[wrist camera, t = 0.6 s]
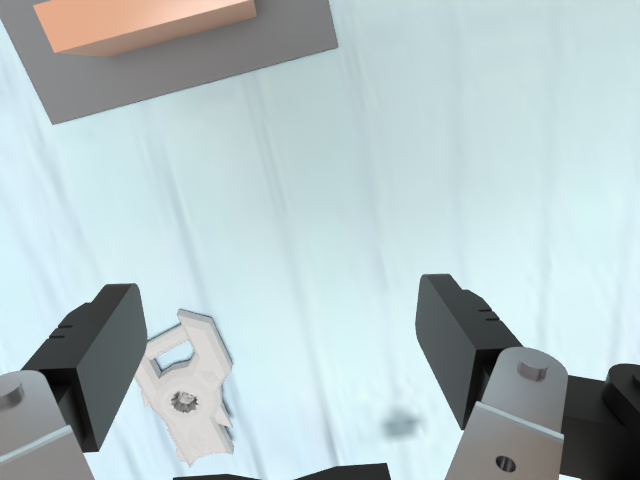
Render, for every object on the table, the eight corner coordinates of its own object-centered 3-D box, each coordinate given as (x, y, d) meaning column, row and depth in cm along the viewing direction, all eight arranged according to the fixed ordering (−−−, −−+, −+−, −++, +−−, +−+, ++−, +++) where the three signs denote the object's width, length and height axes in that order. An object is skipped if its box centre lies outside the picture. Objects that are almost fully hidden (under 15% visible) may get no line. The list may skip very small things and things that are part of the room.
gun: (264, 452, 46) (177, 479, 46) (265, 429, 49) (184, 454, 50) (199, 312, 40) (99, 344, 40) (205, 295, 43) (113, 325, 43)
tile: (247, -20, 32) (239, -51, 24) (257, 16, 33) (253, -2, 25) (93, 22, 32) (32, 5, 24) (108, 57, 33) (54, 52, 25)
